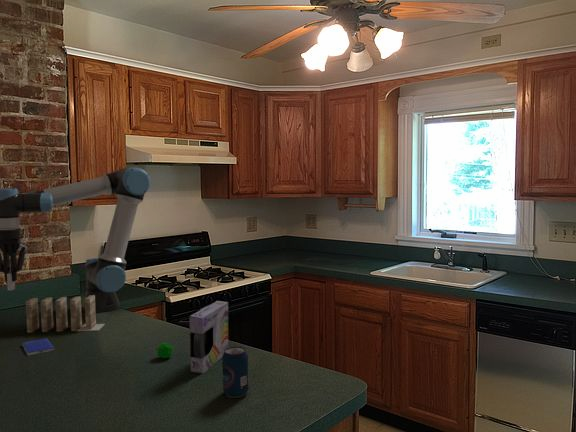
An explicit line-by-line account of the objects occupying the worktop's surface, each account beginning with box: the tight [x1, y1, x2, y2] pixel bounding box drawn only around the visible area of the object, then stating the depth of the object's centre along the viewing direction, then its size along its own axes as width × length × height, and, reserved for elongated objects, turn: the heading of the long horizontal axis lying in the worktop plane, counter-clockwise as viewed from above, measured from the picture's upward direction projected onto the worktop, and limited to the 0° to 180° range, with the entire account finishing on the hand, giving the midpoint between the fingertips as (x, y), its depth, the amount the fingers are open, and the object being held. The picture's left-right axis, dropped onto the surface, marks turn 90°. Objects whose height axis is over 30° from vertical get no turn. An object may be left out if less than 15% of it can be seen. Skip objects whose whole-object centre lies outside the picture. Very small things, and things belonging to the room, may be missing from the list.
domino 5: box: [84, 295, 97, 330], centre depth 196 cm, size 2×6×12 cm, turn 4°
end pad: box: [76, 323, 105, 332], centre depth 196 cm, size 8×8×1 cm
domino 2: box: [39, 296, 54, 333], centre depth 195 cm, size 2×6×12 cm, turn 4°
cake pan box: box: [189, 300, 229, 374], centre depth 157 cm, size 19×5×18 cm, turn 161°
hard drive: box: [21, 338, 55, 356], centre depth 174 cm, size 2×8×12 cm
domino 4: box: [69, 296, 83, 332], centre depth 196 cm, size 2×6×12 cm, turn 4°
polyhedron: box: [156, 342, 174, 360], centre depth 163 cm, size 5×5×5 cm
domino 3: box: [54, 296, 69, 332], centre depth 195 cm, size 2×6×12 cm, turn 4°
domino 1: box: [25, 297, 40, 333], centre depth 194 cm, size 2×6×12 cm, turn 4°
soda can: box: [221, 346, 250, 399], centre depth 135 cm, size 7×7×12 cm
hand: (11, 289), depth 193 cm, fingers closed
